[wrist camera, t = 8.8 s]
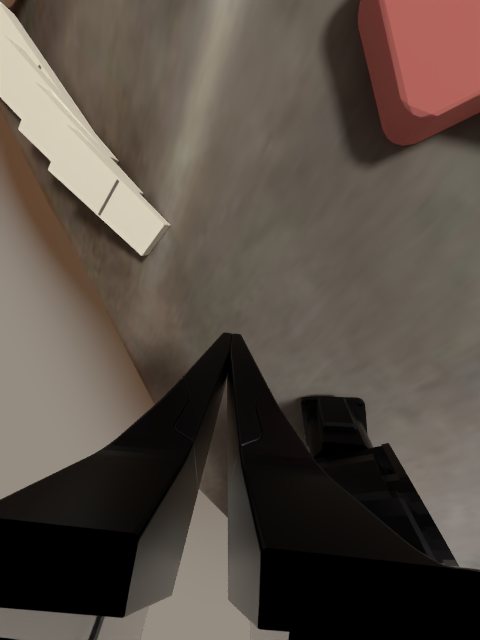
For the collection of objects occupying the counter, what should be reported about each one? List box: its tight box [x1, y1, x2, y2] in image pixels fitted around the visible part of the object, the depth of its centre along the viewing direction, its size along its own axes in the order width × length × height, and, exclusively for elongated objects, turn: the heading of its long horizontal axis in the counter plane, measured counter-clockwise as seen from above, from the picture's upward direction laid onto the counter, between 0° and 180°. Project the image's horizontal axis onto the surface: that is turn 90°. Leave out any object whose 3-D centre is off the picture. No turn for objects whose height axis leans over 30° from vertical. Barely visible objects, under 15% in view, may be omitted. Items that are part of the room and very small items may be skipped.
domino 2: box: [18, 81, 143, 196], centre depth 21 cm, size 2×5×12 cm
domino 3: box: [0, 35, 119, 164], centre depth 21 cm, size 2×5×12 cm
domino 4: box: [0, 2, 93, 130], centre depth 21 cm, size 2×5×12 cm
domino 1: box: [48, 124, 170, 256], centre depth 21 cm, size 2×5×12 cm
